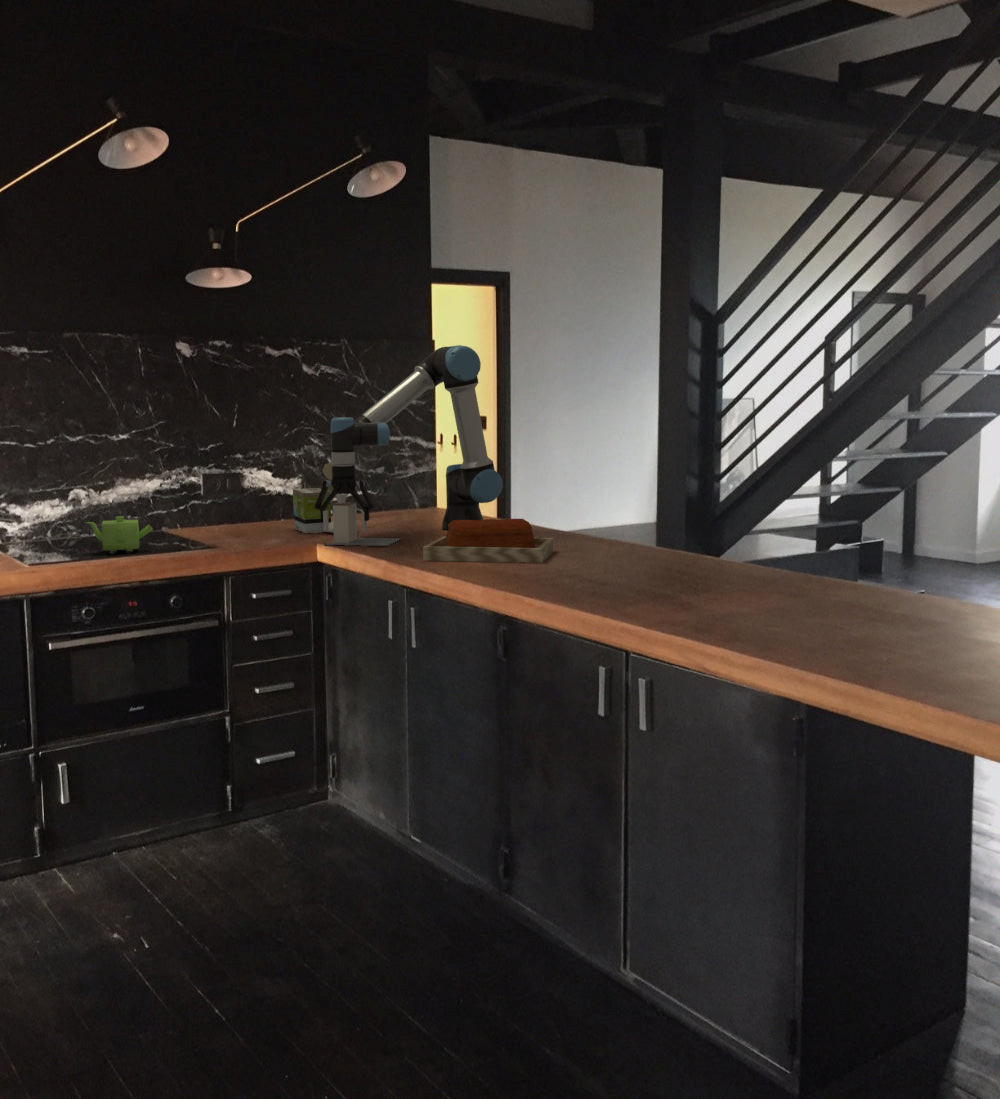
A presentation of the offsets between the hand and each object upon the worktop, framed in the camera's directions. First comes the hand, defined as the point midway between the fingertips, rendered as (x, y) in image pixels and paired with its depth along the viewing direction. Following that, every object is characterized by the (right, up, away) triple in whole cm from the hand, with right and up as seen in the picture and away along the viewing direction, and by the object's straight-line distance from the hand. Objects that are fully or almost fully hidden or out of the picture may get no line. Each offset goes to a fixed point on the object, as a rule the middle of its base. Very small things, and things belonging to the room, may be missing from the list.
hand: (345, 530), depth 374 cm
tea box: (-16, 0, +33) cm, 37 cm away
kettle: (-68, -7, -15) cm, 70 cm away
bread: (+48, -8, -32) cm, 58 cm away
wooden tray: (+48, -8, -32) cm, 58 cm away
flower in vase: (-5, -1, +26) cm, 26 cm away
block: (0, -3, +1) cm, 3 cm away
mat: (+6, -4, -1) cm, 7 cm away
